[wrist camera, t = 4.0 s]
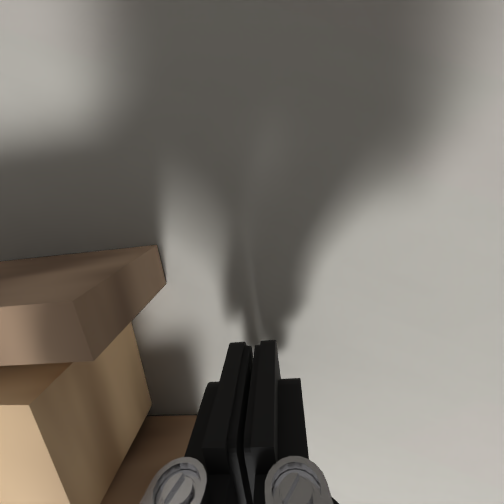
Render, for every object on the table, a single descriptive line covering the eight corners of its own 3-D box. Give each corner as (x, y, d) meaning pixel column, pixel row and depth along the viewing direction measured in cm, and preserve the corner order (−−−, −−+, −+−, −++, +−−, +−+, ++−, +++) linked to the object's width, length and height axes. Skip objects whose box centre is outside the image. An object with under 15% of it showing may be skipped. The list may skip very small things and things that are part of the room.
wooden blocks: (156, 245, 10) (73, 301, 6) (203, 441, 13) (168, 572, 9) (-68, 268, 12) (-265, 328, 7) (19, 443, 15) (-89, 559, 10)
